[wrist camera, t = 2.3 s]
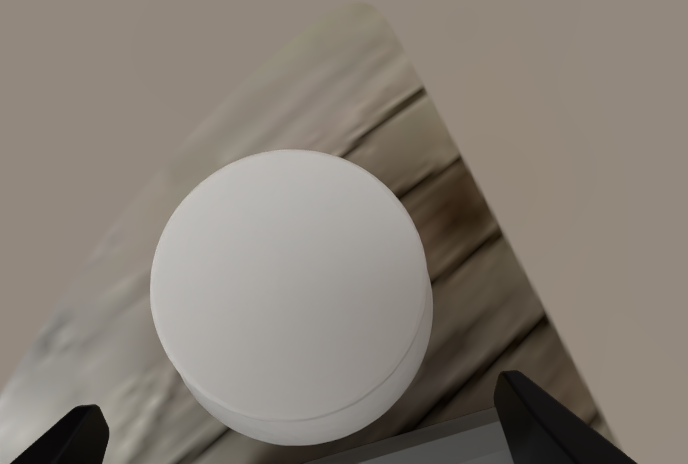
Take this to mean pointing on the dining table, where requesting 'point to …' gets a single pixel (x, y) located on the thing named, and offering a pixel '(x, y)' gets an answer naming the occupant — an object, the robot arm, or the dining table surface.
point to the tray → (436, 444)
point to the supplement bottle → (293, 296)
